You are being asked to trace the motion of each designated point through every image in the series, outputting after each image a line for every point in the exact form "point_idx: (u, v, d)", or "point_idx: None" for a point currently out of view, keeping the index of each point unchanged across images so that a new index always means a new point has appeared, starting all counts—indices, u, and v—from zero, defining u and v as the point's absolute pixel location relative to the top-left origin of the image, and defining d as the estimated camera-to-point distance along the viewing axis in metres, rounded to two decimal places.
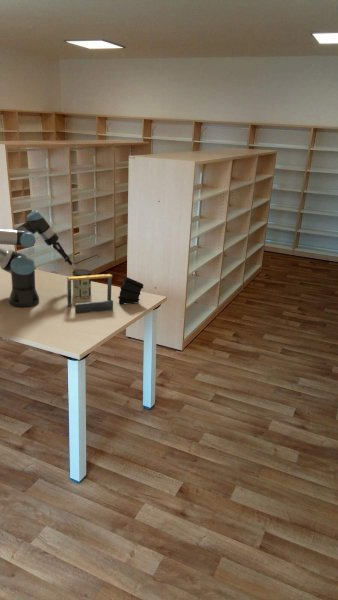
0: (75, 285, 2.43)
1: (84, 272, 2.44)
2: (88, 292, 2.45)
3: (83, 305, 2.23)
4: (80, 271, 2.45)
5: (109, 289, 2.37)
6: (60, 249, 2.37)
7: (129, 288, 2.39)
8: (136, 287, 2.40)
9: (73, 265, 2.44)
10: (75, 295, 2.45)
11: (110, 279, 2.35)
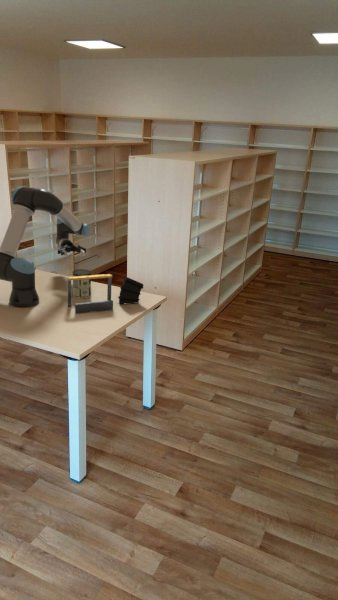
0: (75, 285, 2.43)
1: (84, 272, 2.44)
2: (88, 292, 2.45)
3: (83, 305, 2.23)
4: (80, 271, 2.45)
5: (109, 289, 2.37)
6: None
7: (129, 288, 2.39)
8: (136, 287, 2.40)
9: None
10: (75, 295, 2.45)
11: (110, 279, 2.35)
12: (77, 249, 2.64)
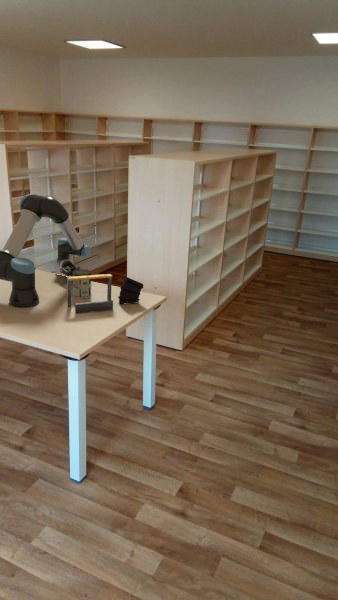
0: (75, 285, 2.43)
1: (84, 272, 2.44)
2: (88, 292, 2.45)
3: (83, 305, 2.23)
4: (80, 271, 2.45)
5: (109, 289, 2.37)
6: None
7: (129, 288, 2.39)
8: (136, 287, 2.40)
9: None
10: (75, 295, 2.45)
11: (110, 279, 2.35)
12: None
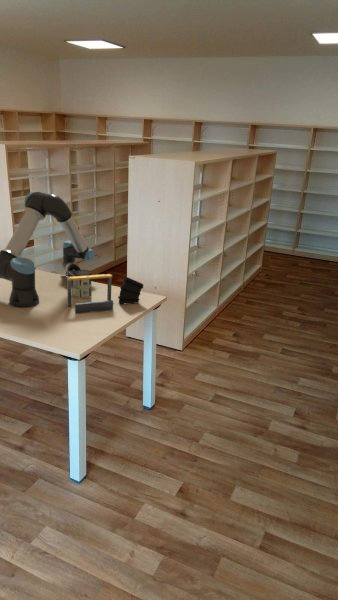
0: (75, 286, 2.42)
1: (84, 272, 2.43)
2: (88, 292, 2.45)
3: (83, 305, 2.23)
4: (80, 271, 2.44)
5: (109, 289, 2.37)
6: None
7: (129, 288, 2.39)
8: (136, 287, 2.40)
9: None
10: (75, 295, 2.44)
11: (110, 279, 2.35)
12: None
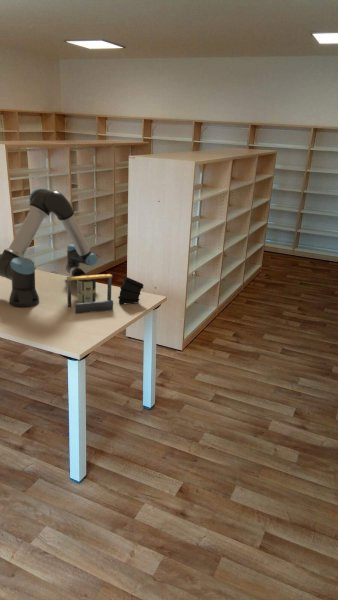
0: (78, 291, 2.35)
1: None
2: (92, 298, 2.37)
3: (83, 305, 2.23)
4: None
5: (109, 289, 2.37)
6: None
7: (129, 288, 2.39)
8: (136, 287, 2.40)
9: None
10: (78, 300, 2.37)
11: (110, 279, 2.35)
12: None
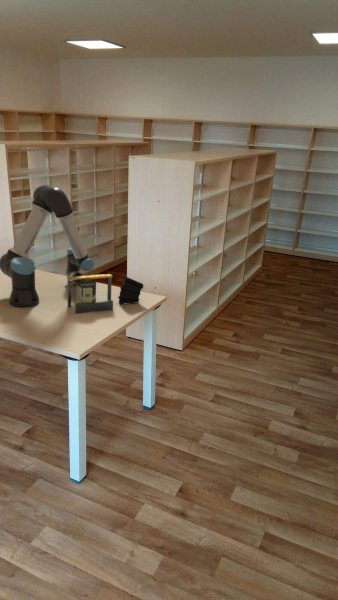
0: (77, 297, 2.26)
1: (88, 283, 2.26)
2: None
3: (83, 305, 2.23)
4: (85, 282, 2.28)
5: (109, 289, 2.37)
6: None
7: (129, 288, 2.39)
8: (136, 287, 2.40)
9: None
10: None
11: (110, 279, 2.35)
12: None
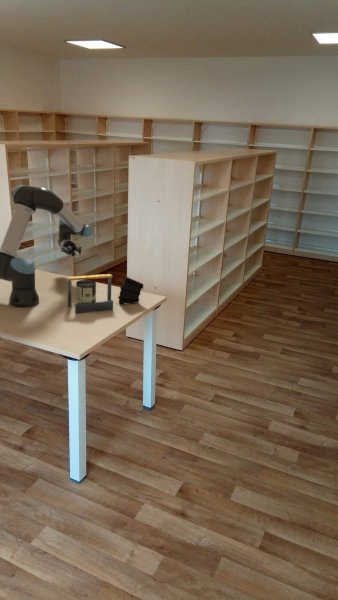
0: (77, 297, 2.26)
1: (88, 283, 2.27)
2: None
3: (83, 305, 2.23)
4: (85, 282, 2.28)
5: (109, 289, 2.37)
6: (80, 250, 2.64)
7: (129, 288, 2.39)
8: (136, 287, 2.40)
9: None
10: None
11: (110, 279, 2.35)
12: (74, 250, 2.60)
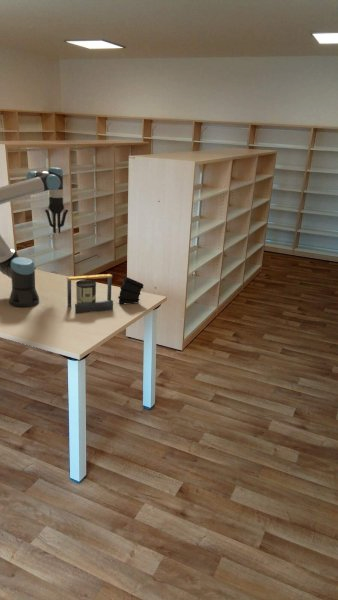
0: (77, 297, 2.26)
1: (88, 283, 2.27)
2: None
3: (83, 305, 2.23)
4: (85, 282, 2.28)
5: (109, 289, 2.37)
6: None
7: (129, 288, 2.39)
8: (136, 287, 2.40)
9: None
10: None
11: (110, 279, 2.35)
12: (57, 219, 2.45)
